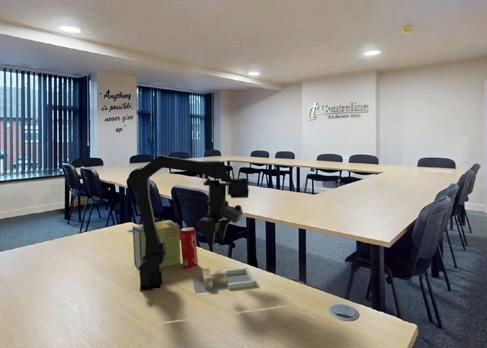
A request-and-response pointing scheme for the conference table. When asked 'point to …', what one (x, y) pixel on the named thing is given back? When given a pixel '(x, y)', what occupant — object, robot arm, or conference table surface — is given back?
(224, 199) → the robot arm
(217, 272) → the t block
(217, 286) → the platform with raised edges
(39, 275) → the conference table surface
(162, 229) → the protein box
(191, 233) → the beverage can
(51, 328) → the conference table surface
